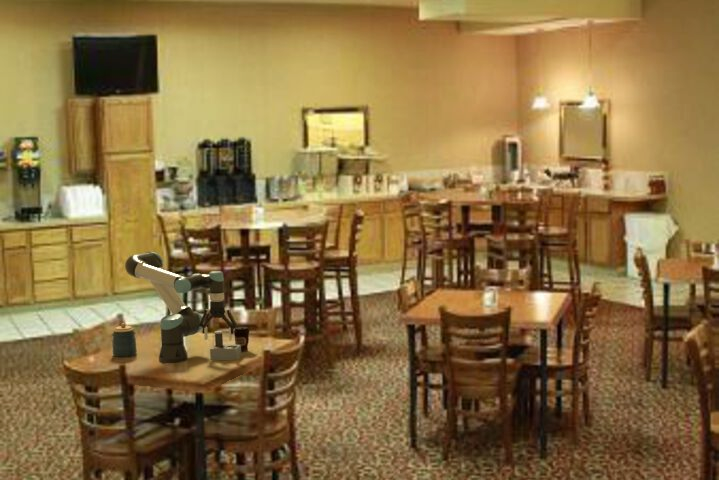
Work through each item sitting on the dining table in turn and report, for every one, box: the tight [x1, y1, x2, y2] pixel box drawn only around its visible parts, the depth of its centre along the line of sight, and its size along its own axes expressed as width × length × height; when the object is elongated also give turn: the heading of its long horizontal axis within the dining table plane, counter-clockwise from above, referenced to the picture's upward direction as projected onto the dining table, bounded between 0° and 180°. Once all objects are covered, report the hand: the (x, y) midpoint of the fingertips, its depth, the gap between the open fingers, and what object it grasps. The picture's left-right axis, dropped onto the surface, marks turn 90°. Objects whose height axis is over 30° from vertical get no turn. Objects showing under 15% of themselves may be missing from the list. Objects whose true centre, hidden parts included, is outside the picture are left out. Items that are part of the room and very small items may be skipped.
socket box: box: [209, 344, 242, 361], centre depth 537 cm, size 14×10×6 cm
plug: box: [214, 330, 224, 348], centre depth 537 cm, size 4×4×12 cm
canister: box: [111, 322, 138, 358], centre depth 549 cm, size 13×13×18 cm
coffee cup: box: [233, 326, 250, 353], centre depth 551 cm, size 9×8×13 cm
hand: (218, 339), depth 537 cm, fingers open, 13 cm apart
